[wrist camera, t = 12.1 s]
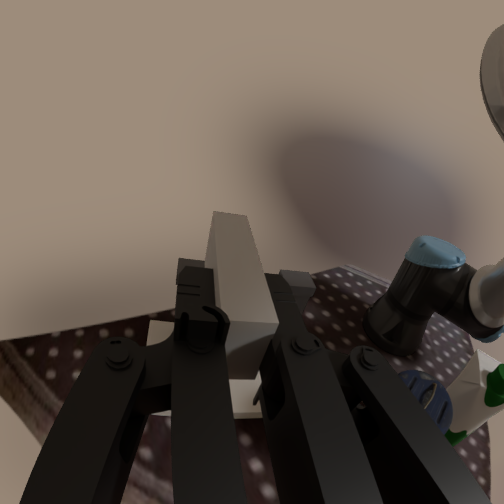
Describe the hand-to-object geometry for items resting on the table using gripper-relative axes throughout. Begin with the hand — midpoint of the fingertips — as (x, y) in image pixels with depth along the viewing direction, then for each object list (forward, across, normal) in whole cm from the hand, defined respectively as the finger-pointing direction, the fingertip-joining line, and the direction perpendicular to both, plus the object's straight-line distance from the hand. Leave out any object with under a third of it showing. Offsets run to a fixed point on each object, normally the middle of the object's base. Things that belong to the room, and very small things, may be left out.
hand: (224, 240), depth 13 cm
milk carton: (-5, +37, -30) cm, 48 cm away
